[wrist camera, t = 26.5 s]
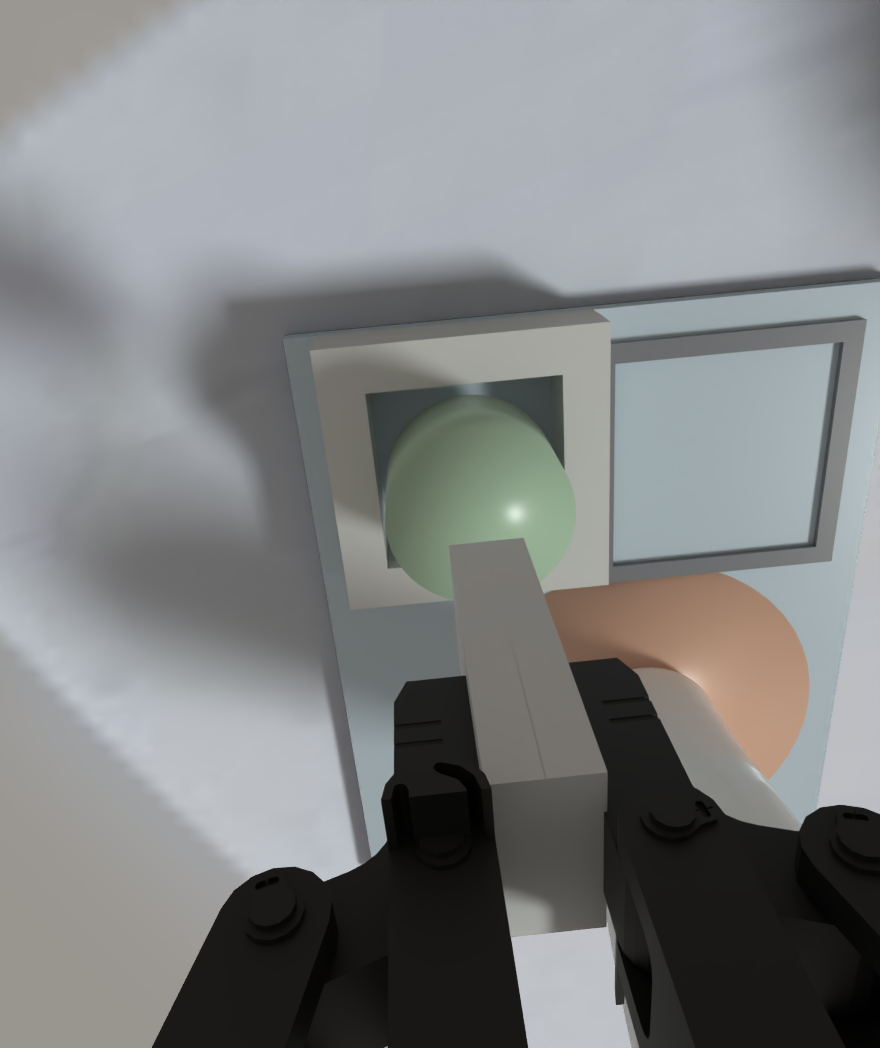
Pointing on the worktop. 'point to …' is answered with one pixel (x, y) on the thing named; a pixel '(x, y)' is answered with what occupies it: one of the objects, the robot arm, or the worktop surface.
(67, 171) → the worktop surface
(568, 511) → the button
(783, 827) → the drinking glass
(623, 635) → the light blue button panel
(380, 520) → the button collar
